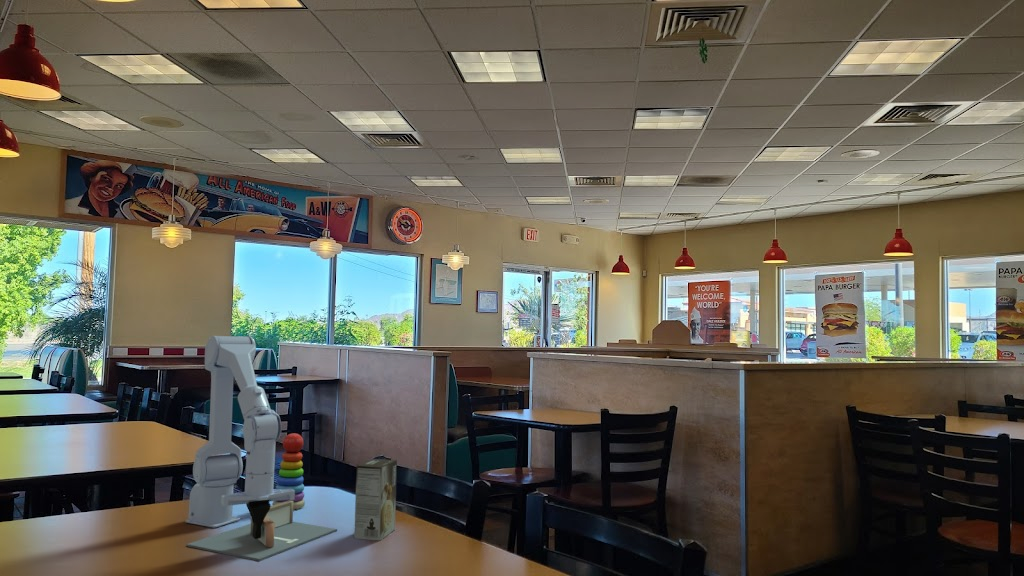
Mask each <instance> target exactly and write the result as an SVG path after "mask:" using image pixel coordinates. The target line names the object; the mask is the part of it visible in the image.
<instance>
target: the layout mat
mask: <svg viewBox="0 0 1024 576" xmlns="http://www.w3.org/2000/svg"><path fill="white" fill-rule="evenodd" d="M250 531H251V523H248V524H245V525H243V526H240V527H236V528H232V529H229V530H226V531H223V532H220V533H217V534H214V535H211V536H210V535H209V536H207V537H205V538H202V539H198V540H195V541H193V542H189V543H186V547H190V548H194V549H199V550H204V551H209V552H213V553H218V554H223V555H228V556H233V557H237V558H242V559H243V558H244V559H249V560H253V561H256V562H257V561H258V562H261V561H263V560H265V559H268V558H271V557H274V556H276V555H278V554H282V553H284V552H286V551H289V550H292V549H295V548H298V547H300V546H301V545H305V544H306V543H309V542H311V541H312V542H313V541H316V540H317V539H320V538H322V537H325V536H328V535H331V534H333V533H336V532H337V531H338V529H337V528H333V527H328V526H327V527H326V526H321V525H314V524H311V523H310V524H309V523H305V522H304V523H303V522H296V521H293V523H290V524H284V525H281V526H278V527H275V528H274V546H273V547H266V546H265V545H264V544H263V543H262V542H261V541H260V540H258V539H254V538H253V536H252V535H250Z"/></svg>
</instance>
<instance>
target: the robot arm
mask: <svg viewBox="0 0 1024 576" xmlns="http://www.w3.org/2000/svg"><path fill="white" fill-rule="evenodd" d="M204 346H205V347H204V348H205V349H204V369H205V370H207V371H209V372H210V375H211V376H210V379H211V381H210V405H209V407H210V408H209V409H210V410H209V429H208V432H209V433H208V441H207V442H206V443H205V444H204V445H202V446H201V447H200V448H198V449H197V450H196V451H195V457H194V462H193V465H192V476H193V479H194V481H195V482H196V483H195V484H194V486H193V487H192V488H191V490H190V493H189V502H188V504H189V505H188V519H186V520H185V521H184V522H185V523H186V524H187V523H188V524H193V525H198V526H204V527H208V528H218V527H222V526H224V525H229V524H231V523H234V522H239V521H241V517H237V516H233V508H234V507H233V506H239V505H246V507H247V510H248V511H249V515H250V519H251V518H252V521H253V538H254V539H259V538H261V526H262V523H263V521H264V519H265V517H266V515H267V513H268V511H269V510H270V506H272V505H271V503H270V502H273V501H278V500H287V499H289V500H294V498H295V490H293V489H277V490H276V489H274V485H275V483H274V482H275V466H276V465H275V462H276V460H275V459H276V442H277V441H278V440H279V439H280V437H281V434H282V421H281V417H280V415H279V414H278V413H276V412H275V410H274V409H271V406H270V403H269V400H268V397H267V394H266V392H265V389H264V388H263V387H262V386H259V385H258V383H257V379H256V374H255V369H254V365H253V362H254V360H255V356H256V351H257V346H256V341H255V339H254V338H253V337H252V335H246V336H236V335H232V336H229V335H228V336H227V335H226V336H225V335H224V336H223V335H211V336H209V338H208V339H207V340H206V343H205V345H204ZM234 379H235V382H236V383H237V387H238V388H239V390H240V392H239V393H238V395H237V402H238V404H239V408H240V410H241V411H240V412H241V414H242V418H243V420H244V421H243V426H242V436H243V440H244V441H243V442H244V450H245V451H246V456H245V457H246V461H245V479H244V491H243V492H236V493H234V486H235V485H234V484H237V481H238V480H239V479H240V477H241V476H242V474H243V468H244V465H243V464H244V463H243V459H242V449H241V448H240V447H239V446H238V445H237V444H235V443H234V442H233V441H232V428H233V427H232V424H233V422H232V421H233V402H234V401H233V399H234V398H233V396H234V395H233V394H234Z"/></svg>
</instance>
